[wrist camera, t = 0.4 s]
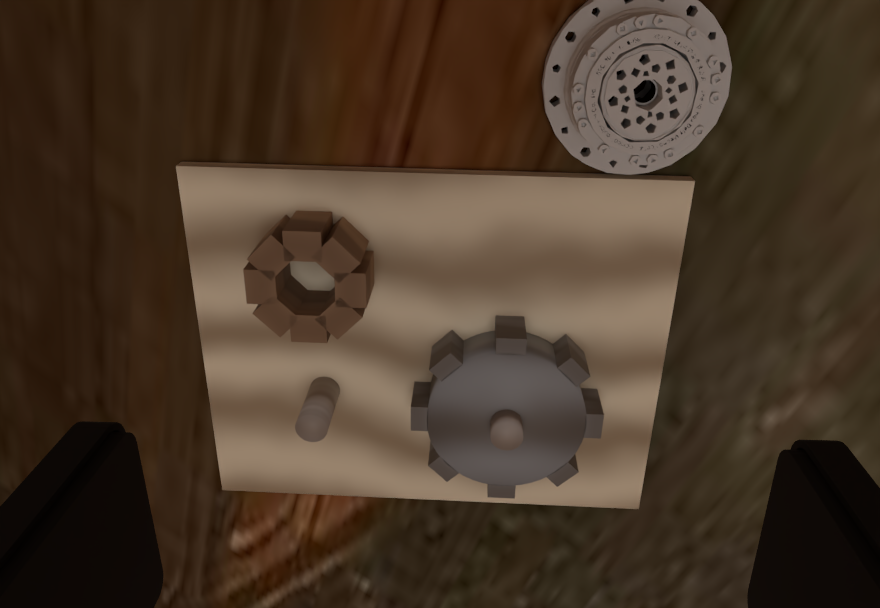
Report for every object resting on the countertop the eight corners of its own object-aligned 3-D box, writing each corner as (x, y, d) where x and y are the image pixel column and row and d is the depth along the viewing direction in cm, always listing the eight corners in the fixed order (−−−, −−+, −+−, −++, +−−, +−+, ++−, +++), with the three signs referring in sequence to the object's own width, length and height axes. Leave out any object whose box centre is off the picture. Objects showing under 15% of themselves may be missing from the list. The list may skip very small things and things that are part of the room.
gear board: (182, 161, 44) (144, 188, 39) (690, 176, 43) (717, 206, 38) (226, 481, 54) (201, 534, 49) (635, 499, 53) (651, 556, 48)
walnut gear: (255, 209, 44) (238, 229, 41) (372, 212, 44) (364, 233, 40) (266, 314, 47) (250, 340, 44) (375, 318, 47) (367, 344, 43)
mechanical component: (727, 150, 42) (719, -37, 38) (753, 171, 38) (747, -36, 34) (554, 182, 44) (528, 5, 39) (562, 206, 40) (534, 11, 35)
